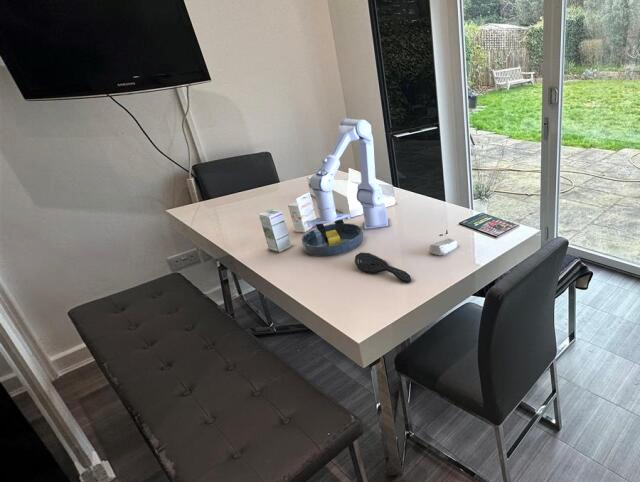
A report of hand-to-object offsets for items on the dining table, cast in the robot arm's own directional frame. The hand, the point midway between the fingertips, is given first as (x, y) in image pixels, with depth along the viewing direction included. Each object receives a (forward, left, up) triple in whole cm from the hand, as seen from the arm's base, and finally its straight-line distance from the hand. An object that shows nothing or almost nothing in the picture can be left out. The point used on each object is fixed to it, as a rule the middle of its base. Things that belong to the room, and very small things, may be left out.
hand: (333, 240), depth 154 cm
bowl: (0, -1, -2) cm, 2 cm away
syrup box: (+19, -4, -2) cm, 19 cm away
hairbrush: (-17, +27, -2) cm, 32 cm away
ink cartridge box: (+12, -21, -2) cm, 24 cm away
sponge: (0, 0, -1) cm, 1 cm away
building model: (-5, -52, -2) cm, 52 cm away
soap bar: (-39, +19, -2) cm, 44 cm away
